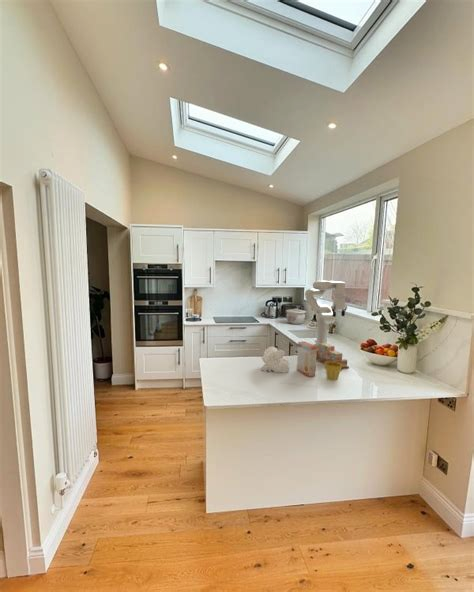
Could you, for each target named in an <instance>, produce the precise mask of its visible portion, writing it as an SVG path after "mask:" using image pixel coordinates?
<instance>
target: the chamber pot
mask: <svg viewBox="0 0 474 592" xmlns="http://www.w3.org/2000/svg"><path fill="white" fill-rule="evenodd" d="M285 312H286V315H285V316H286V320H287V322H288V323H289V324H291V325H301V324H303V323H304V321H305V319H306V313H307V311H306V310H304V309H299V308H296V307H295V308H293V309H292V308H290V309H286V310H285Z"/></svg>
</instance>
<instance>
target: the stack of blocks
mask: <svg viewBox="0 0 474 592" xmlns="http://www.w3.org/2000/svg"><path fill="white" fill-rule="evenodd" d="M317 350H318V357H320V358H323V359H325V360H327V361H329V362H335V360H341V359H343V353H342V352H340V351H337V350H336V349H335V345H332V344H329V343H328V342H327V343H318V347H317Z"/></svg>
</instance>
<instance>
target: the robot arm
mask: <svg viewBox="0 0 474 592" xmlns="http://www.w3.org/2000/svg"><path fill="white" fill-rule="evenodd" d="M312 287H313V288H309V289H306V291H305V293H304V296H305V300H306V302H307V303H308V304H309V306H310V307H311V309H312V311H313V313H314V314H316V340H315V341H314V345H315V346H317V348H318V343H327V344H328V333H329V331H328V329H329V328H328V325H327V324H333V323H335V322H336V319H337V318H336V317H337V311H338V310H339V311H341V314H340V316H341V317H345V315H346V311H347V309H348V306H347V305H346V299H345V296H346V295H345V294H346V293H345V291H346V282H344V281H338V280H336V281H335V280H329V281H328V280H316V281H314V282H313V283H312ZM331 290H332V291H335V292H334V293H335V295H334V298H333V302H332V306H329V305H328V304H321V303H320V302H319V301H318V299H317V298H322V297H323V296H324V294H325V293H326V292H327V291H331Z"/></svg>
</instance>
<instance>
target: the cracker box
mask: <svg viewBox="0 0 474 592" xmlns="http://www.w3.org/2000/svg"><path fill="white" fill-rule="evenodd" d="M317 350H318V347H317V346H315V344H312V343H310V342H307V341H305V340H304V341H298V342H297V357H296V360H297V361H296V371H298V372H299V373H300V374H303V375H304V376H306V377H309V378H310V377H315V376H316V368H317V367H316V366H317V361H316V354H317Z"/></svg>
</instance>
